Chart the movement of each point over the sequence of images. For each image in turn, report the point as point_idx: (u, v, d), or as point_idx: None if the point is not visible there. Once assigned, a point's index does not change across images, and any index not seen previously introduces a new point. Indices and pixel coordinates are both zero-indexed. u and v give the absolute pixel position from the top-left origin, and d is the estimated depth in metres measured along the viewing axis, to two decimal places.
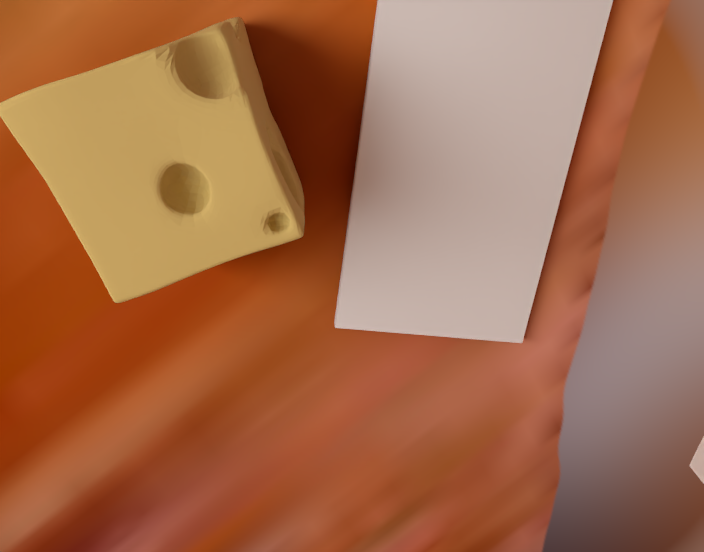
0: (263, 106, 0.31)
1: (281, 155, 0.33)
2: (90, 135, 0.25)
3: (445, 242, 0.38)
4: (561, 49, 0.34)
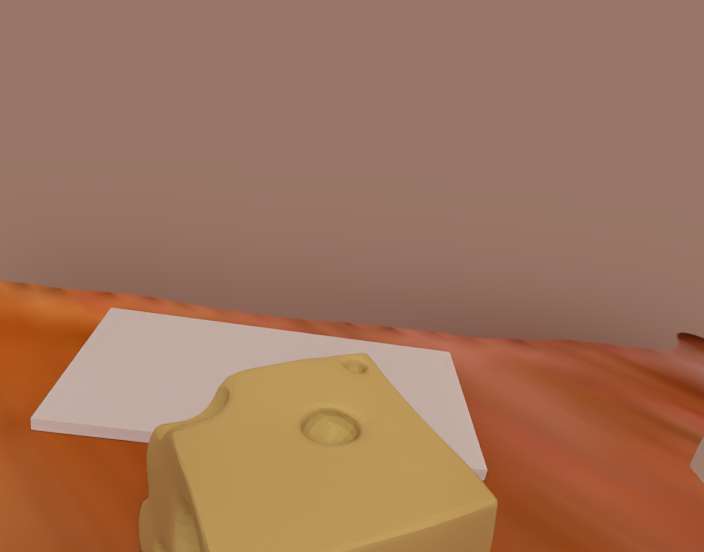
0: None
1: None
2: (269, 489, 0.19)
3: None
4: (202, 335, 0.43)
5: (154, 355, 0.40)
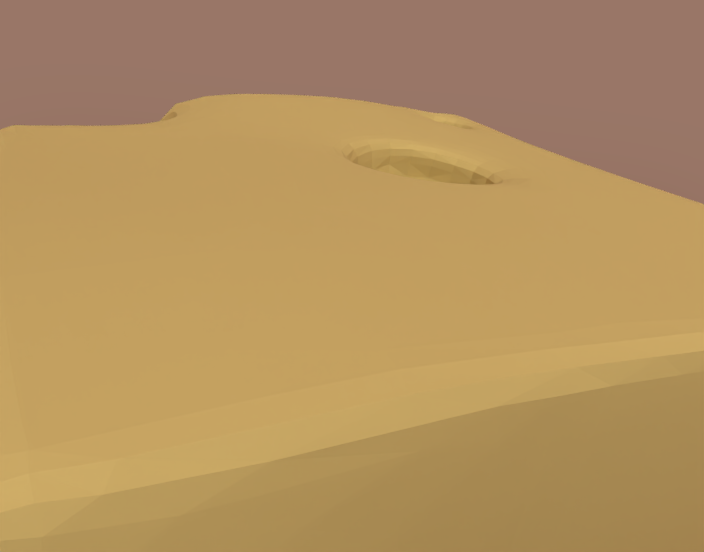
0: None
1: None
2: (269, 203, 0.05)
3: None
4: None
5: None
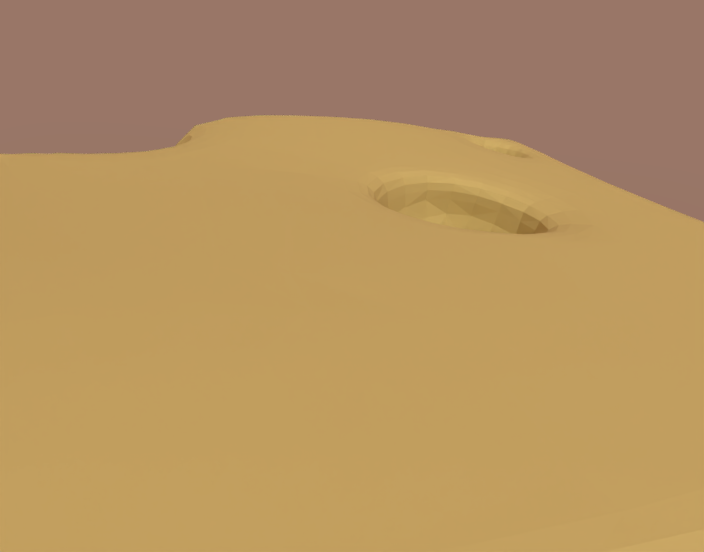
0: None
1: None
2: (241, 273, 0.04)
3: None
4: None
5: None
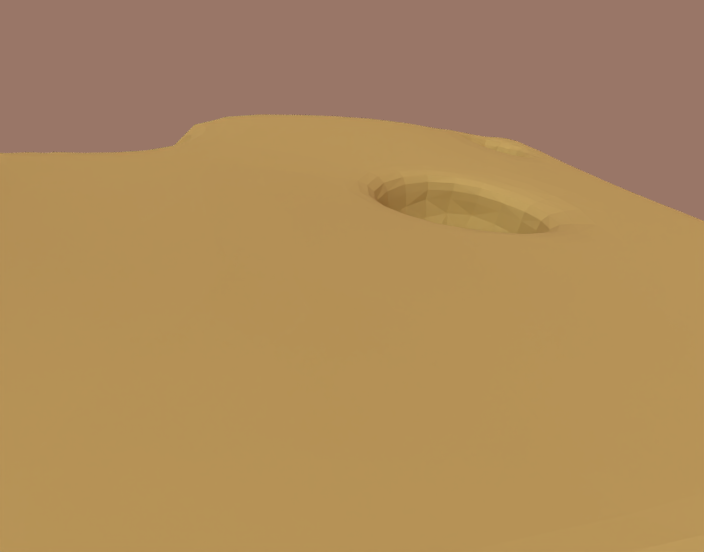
0: None
1: None
2: (240, 273, 0.04)
3: None
4: None
5: None
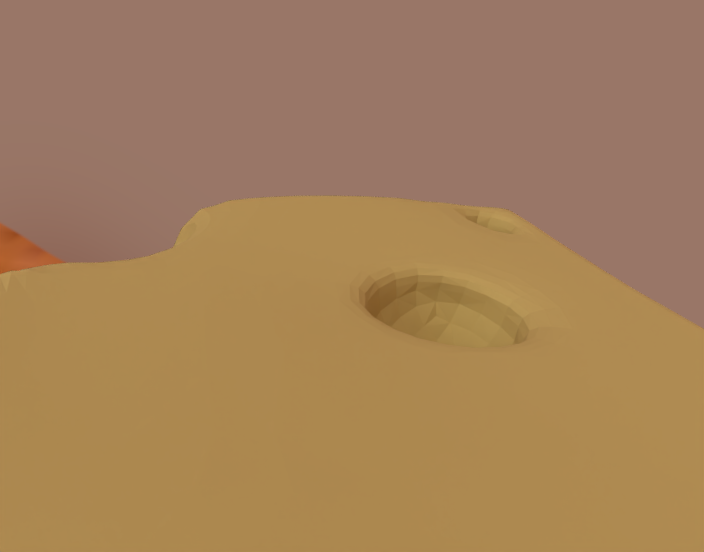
0: None
1: None
2: (232, 440, 0.05)
3: None
4: None
5: None
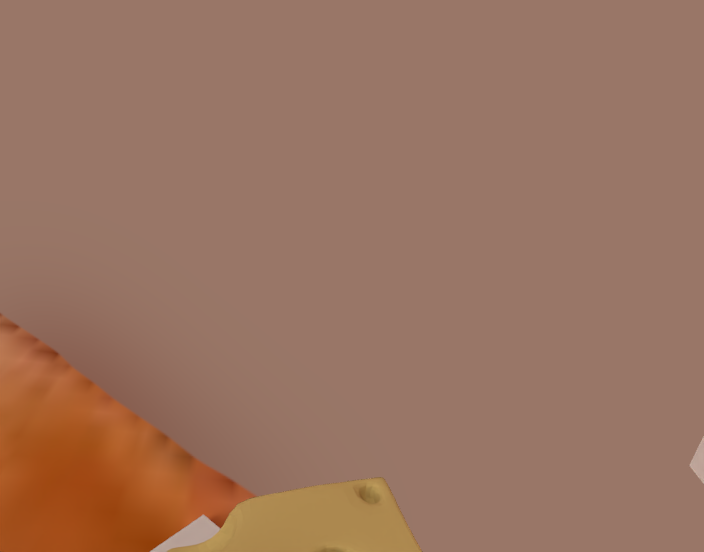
0: None
1: None
2: None
3: None
4: None
5: None
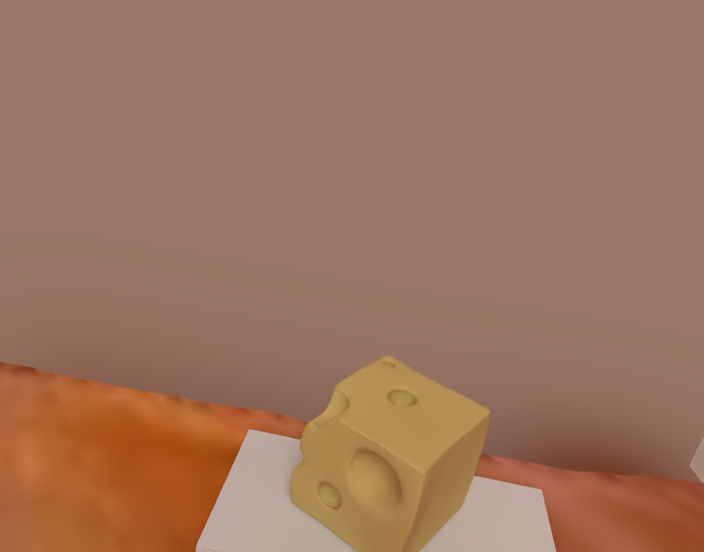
0: None
1: None
2: (404, 431, 0.40)
3: (469, 533, 0.46)
4: None
5: (286, 483, 0.48)
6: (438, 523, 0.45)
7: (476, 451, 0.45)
